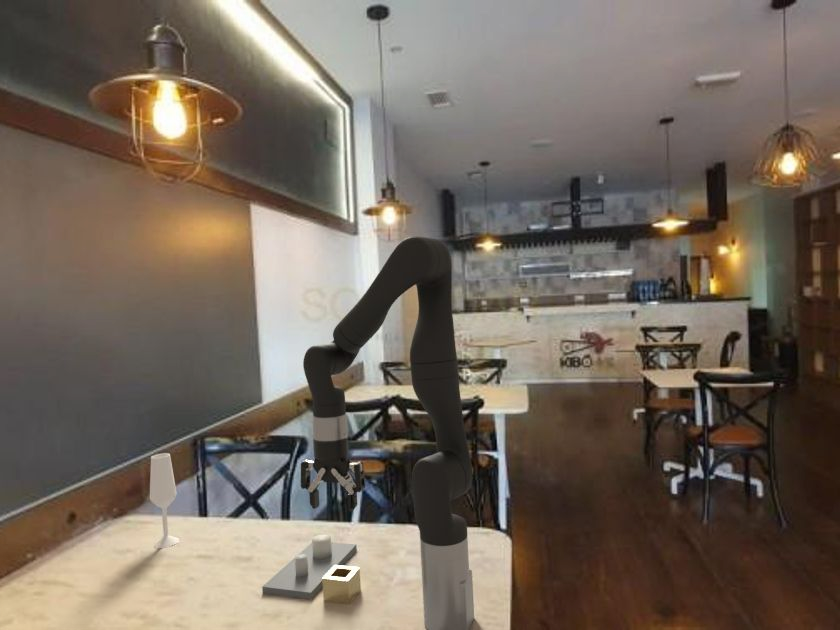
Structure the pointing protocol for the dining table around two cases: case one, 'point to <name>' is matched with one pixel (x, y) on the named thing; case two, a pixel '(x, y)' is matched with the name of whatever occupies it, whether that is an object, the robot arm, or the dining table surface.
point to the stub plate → (309, 568)
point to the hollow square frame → (341, 584)
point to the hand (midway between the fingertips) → (333, 508)
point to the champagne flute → (163, 493)
